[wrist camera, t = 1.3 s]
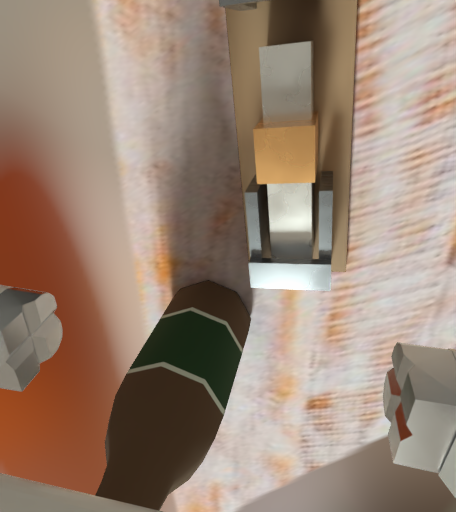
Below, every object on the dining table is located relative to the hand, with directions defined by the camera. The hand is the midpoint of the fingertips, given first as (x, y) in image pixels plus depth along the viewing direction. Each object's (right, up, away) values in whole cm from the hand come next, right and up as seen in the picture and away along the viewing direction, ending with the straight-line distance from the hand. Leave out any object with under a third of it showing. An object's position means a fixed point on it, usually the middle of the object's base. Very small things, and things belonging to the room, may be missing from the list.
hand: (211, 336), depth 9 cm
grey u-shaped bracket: (+6, +5, +21) cm, 22 cm away
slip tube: (+5, +9, +18) cm, 20 cm away
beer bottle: (-1, -3, +28) cm, 28 cm away
